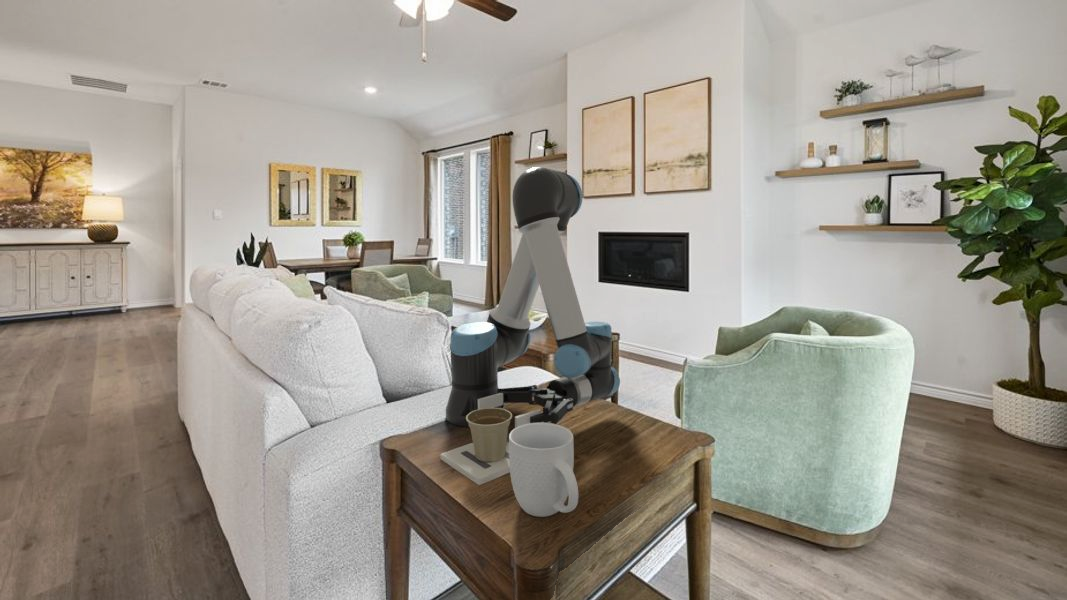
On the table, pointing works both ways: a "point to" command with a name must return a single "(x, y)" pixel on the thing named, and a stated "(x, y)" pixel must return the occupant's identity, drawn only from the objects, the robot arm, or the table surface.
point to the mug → (543, 468)
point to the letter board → (476, 464)
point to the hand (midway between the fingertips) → (496, 414)
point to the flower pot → (489, 432)
